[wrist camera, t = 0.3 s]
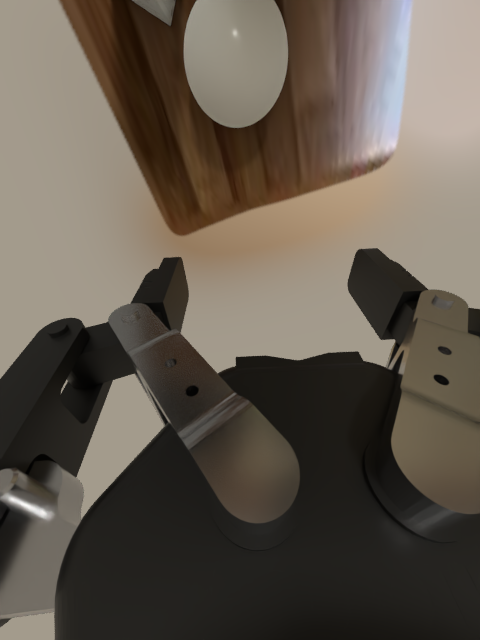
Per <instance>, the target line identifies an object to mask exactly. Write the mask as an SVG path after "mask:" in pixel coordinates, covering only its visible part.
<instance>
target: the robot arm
mask: <svg viewBox="0 0 480 640" xmlns="http://www.w3.org/2000/svg"><path fill="white" fill-rule="evenodd" d="M348 290H349V293H350V294H351V296H352V297H353V299H354V300H355V302H356V303H357V305H358V306H359V308H360V309H361V311H362V312H363V314H364V315H365V317H366V318H367V320H368V321H369V323H370V324H371V326H372V327H373V329H374V330H375V332H376V333H377V335H378V336H379V338H380V339H381V340H386V339H395V343H394V345H393V347H392V349H391V353H390V355H389V358H388V362H387V365H386V367H383V366H381V365H377V364H374V363H370V362H366V361H363V360H362V358H361V356H360V354H359V352H337V353H326V354H322V355H318V356H315V357H311V358H307V359H304V360H291V359H284V358H278V357H271V356H248V357H236V366H235V367H231V368H228V369H226V370H223V371H222V372H219V373H216V372H215V370H214V369H213V368H212V367H211V366H210V365H209V364H208V363H207V362H206V361H205V360H204V358H203V357H202V356H201V355H200V354H199V353H198V352H197V351H196V350H195V349H194V348H193V347H192V346H191V344H190V343H189V342H188V341H187V340H186V339H185V338H184V337H183V336H182V335H181V334H180V332H181V328H182V324H183V319H184V315H185V311H186V307H187V303H188V297H189V293H188V285H187V280H186V275H185V271H184V266H183V261H182V258H181V257H173V258H164V259H163V261H162V263H161V265H160V267H159V269H153V270H152V271H150V272H149V273H148V274H147V275H146V276H145V278H144V280H143V282H142V283H141V285H140V288H139V289H138V291H137V293H136V294H135V296H134V298H133V300H132V302H131V304H127V305H124V306H122V307H120V308H118V309H116V310H115V311H114V312H112V313H111V315H110V316H109V319H108V322H107V323H103V324H99V325H95V326H91V327H87V328H85V326H84V325H83V323H82V321H81V320H79V319H76V318H66V319H61V320H58V321H55V322H53V323H50V324H49V325H47V326H45V327H44V328H43V329H41V330H40V331H39V332H38V333H37V334H36V336H35V337H34V338H33V339H32V341H31V342H30V343H29V344H28V346H27V347H26V348H25V349H24V350H23V352H22V353H21V354H20V355H19V357H18V358H17V359H16V360H15V362H14V363H13V364H12V365H11V366H10V368H9V369H8V370H7V372H6V373H5V374H4V375H3V376H2V378H1V379H0V627H1V626H3V625H4V624H5V623H7V622H8V621H9V620H10V619H11V618H14V617H22V616H28V615H37V614H44V613H51V612H55V615H54V618H55V640H480V309H474V308H468V304H467V303H466V302H465V301H464V300H463V299H462V298H460V297H459V296H457V295H455V294H452V293H449V292H446V291H442V290H428V289H427V288H426V287H425V286H424V285H423V284H421V283H420V282H419V281H418V280H417V279H416V278H415V277H414V276H412V275H411V274H410V273H409V272H408V271H406V269H404V268H403V267H402V266H401V265H400V264H398V263H397V262H394V261H392V260H390V259H389V258H388V257H387V256H386V255H384V254H383V253H382V252H381V251H380V250H379V249H377V248H373V249H359V250H358V251H357V252H356V254H355V258H354V262H353V265H352V268H351V272H350V275H349V279H348ZM134 373H135V375H136V377H137V378H138V380H139V382H140V384H141V386H142V387H143V389H144V391H145V392H146V394H147V396H148V398H149V399H150V401H151V403H152V404H153V406H154V408H155V410H156V412H157V413H158V415H159V417H160V419H161V421H162V422H163V424H164V426H165V427H164V428H163V429H162V430H161V431H160V432H159V433H158V434H157V435H156V436H155V437H154V438H153V439H152V441H151V442H150V443H149V444H148V445H147V446H146V447H145V448H144V449H143V450H142V452H141V453H140V454H139V455H138V456H137V457H136V458H135V459H134V460H133V461H132V462H131V463H130V464H129V465H128V466H127V468H126V469H125V470H124V471H123V472H122V473H121V474H120V475H119V476H118V477H117V478H116V479H115V481H114V482H113V483H112V484H111V485H110V486H109V487H108V488H107V489H106V490H105V491H104V492H103V494H102V495H101V496H100V497H99V498H98V499H97V500H96V501H95V502H94V504H93V505H92V506H91V507H90V509H89V510H88V511H87V513H86V514H85V516H84V517H83V518H82V520H81V506H82V502H83V495H84V491H83V486H82V483H81V482H80V481H79V480H78V479H77V478H76V477H77V474H78V471H79V469H80V466H81V463H82V461H83V458H84V455H85V453H86V450H87V447H88V445H89V442H90V439H91V437H92V434H93V431H94V429H95V426H96V423H97V421H98V418H99V415H100V413H101V410H102V408H103V405H104V402H105V400H106V397H107V394H108V392H109V389H110V386H111V384H112V381H113V380H115V379H118V378H121V377H124V376H128V375H131V374H134ZM66 380H68V382H67V384H66V386H65V388H64V390H63V391H62V393H61V389H62V387H63V385H64V383H65V381H66ZM60 394H61V395H60Z"/></svg>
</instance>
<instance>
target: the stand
mask: <svg viewBox="0 0 480 640" xmlns="http://www.w3.org/2000/svg"><path fill="white" fill-rule="evenodd" d="M184 64H185V71H186V75H187V79H188V83H189V86H190V88H191V91H192V93H193V95H194V97H195V99H196V101H197V102H198V104H199V106H200V107H201V108H202V110H203V111H204V112H205V113H206V114H207V115H208V116H209V117H210V118H212V119H213V120H214V121H216V122H217V123H219V124H221V125H224V126H227V127H231V128H242V127H246V126H250V125H252V124H254V123H256V122H257V121H259V120H260V119H262V118H263V117H264V116H265V115H266V114H267V113H268V112H269V111H270V109H271V108H272V107H273V105H274V104H275V102H276V100H277V99H278V97H279V94H280V92H281V90H282V87H283V84H284V81H285V76H286V72H287V64H288V41H287V34H286V29H285V25H284V21H283V18H282V16H281V13H280V11H279V9H278V7H277V5H276V3H275V1H274V0H197V1H196V2H195V4H194V6H193V8H192V10H191V13H190V16H189V19H188V22H187V26H186V30H185V37H184Z"/></svg>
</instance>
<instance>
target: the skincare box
mask: <svg viewBox="0 0 480 640" xmlns="http://www.w3.org/2000/svg"><path fill="white" fill-rule="evenodd" d="M132 1H133V2H135V3H136V4H138V5H139V6H141V7H142V8H144V9H145V10H147V11H148V12H150V13H151V14H153V15H154V16H156V17H157V18H159V19H160V20H162V21H163V22H165V23H166V24H168V25H169V26H171V22H172V17H173V12H174V7H175V1H176V0H132Z"/></svg>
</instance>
